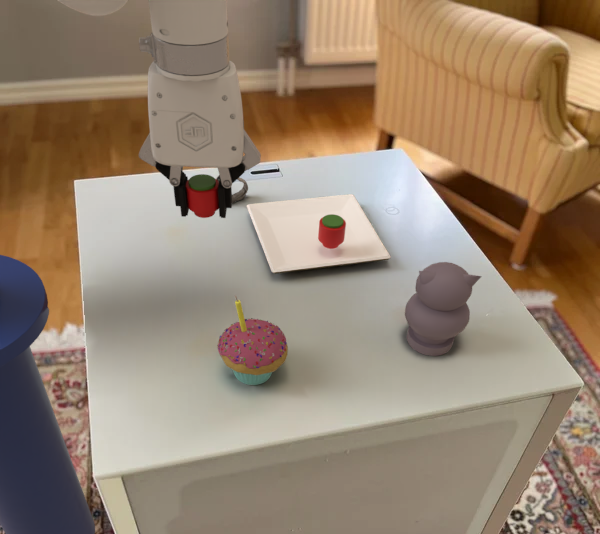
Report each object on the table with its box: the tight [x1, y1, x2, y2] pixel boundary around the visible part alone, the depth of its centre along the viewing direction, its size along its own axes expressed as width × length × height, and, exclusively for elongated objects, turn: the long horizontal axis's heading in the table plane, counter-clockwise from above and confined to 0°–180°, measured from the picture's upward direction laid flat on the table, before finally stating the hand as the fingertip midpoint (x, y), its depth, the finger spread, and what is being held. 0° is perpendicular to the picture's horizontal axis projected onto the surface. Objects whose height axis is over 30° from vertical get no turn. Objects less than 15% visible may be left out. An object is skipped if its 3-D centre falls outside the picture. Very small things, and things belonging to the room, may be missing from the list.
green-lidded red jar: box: [186, 173, 219, 219], centre depth 77 cm, size 4×4×4 cm
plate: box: [246, 193, 392, 274], centre depth 101 cm, size 19×19×2 cm
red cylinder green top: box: [318, 214, 346, 249], centre depth 96 cm, size 4×4×4 cm
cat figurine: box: [404, 261, 483, 357], centre depth 83 cm, size 8×8×12 cm
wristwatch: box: [215, 174, 249, 204], centre depth 107 cm, size 4×6×5 cm, turn 118°
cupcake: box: [217, 295, 289, 386], centre depth 77 cm, size 9×8×12 cm
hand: (204, 209), depth 78 cm, fingers closed on green-lidded red jar, 4 cm apart
